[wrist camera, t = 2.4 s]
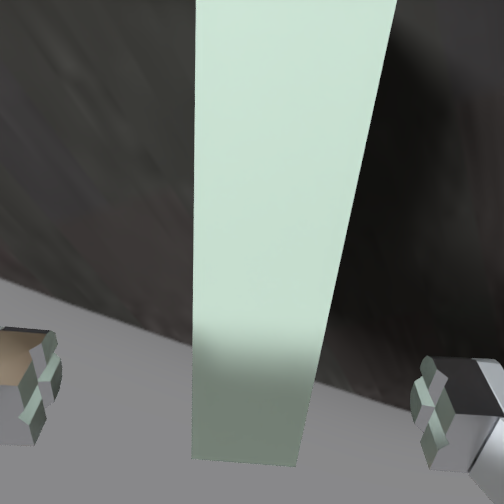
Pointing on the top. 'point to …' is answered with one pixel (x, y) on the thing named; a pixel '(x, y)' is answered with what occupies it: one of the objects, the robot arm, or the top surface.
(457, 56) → the top surface
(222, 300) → the sage plate
